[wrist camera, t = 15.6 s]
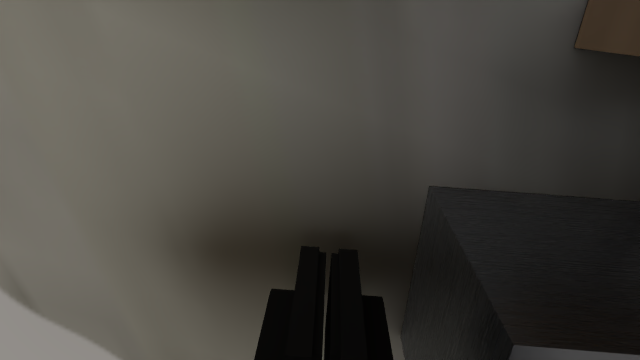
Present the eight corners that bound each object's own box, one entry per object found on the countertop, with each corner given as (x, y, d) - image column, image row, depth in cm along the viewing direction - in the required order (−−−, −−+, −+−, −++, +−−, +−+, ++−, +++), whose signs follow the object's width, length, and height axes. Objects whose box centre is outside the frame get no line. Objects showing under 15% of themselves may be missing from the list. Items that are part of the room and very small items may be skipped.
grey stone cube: (683, 205, 11) (1014, 385, 6) (610, 354, 14) (794, 582, 8) (429, 186, 11) (513, 344, 6) (400, 337, 14) (441, 550, 8)
